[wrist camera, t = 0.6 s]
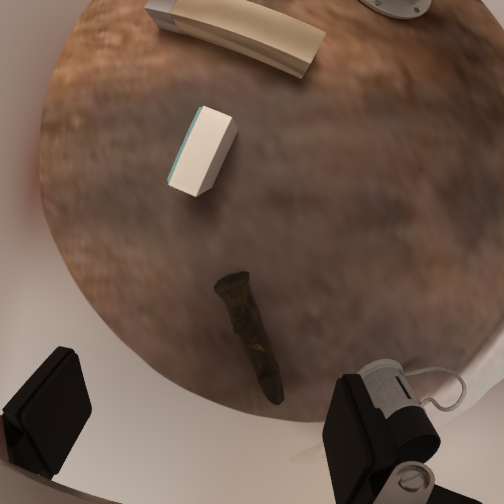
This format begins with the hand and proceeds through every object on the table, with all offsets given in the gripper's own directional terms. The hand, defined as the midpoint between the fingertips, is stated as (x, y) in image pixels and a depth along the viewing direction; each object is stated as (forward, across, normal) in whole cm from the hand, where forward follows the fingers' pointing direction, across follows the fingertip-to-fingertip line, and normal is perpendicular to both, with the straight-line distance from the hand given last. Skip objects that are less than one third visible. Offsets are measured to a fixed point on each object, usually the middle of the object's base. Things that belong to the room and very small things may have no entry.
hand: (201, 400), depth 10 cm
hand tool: (+28, -4, +13) cm, 31 cm away
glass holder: (+27, -23, +19) cm, 40 cm away
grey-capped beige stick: (+27, +2, -23) cm, 36 cm away
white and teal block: (+27, +3, -8) cm, 29 cm away
